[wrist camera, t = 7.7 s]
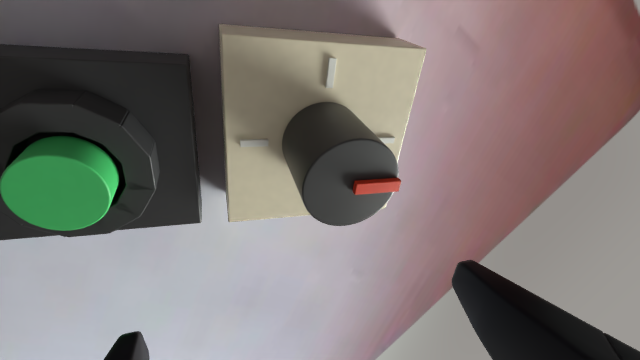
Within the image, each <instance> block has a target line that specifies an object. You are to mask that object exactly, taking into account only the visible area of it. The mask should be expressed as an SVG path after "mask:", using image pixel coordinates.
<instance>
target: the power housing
mask: <svg viewBox="0 0 640 360" xmlns="http://www.w3.org/2000/svg"><path fill="white" fill-rule="evenodd" d="M52 136H69V137H75V138H80V139H83V140H86V141H88V142H91V143H93V144H95V145H96V146H98V147H100V148H101V149H102V150H104V151H105V152H106V153H107V154H108V155H109V156H110V157H111V158H112V160H113V161H114V163H115V165H116V167H117V169H118V172H119V184H118V187H117V189H116V192H115V194H114V197H113V200H112V202H111V205H110V207H109V209H108V211H107V213H106V214H105V215H104V216H103V217H102V218H101V219H100V220H99V221H97V222H96V223H94V224H92V225H90V226H87V227H84V228H81V229H76V230H65V231H62V230H51V229H46V228H42V227H38V226H35V225H33V224H30V223H28V222H26V221H24V220H23V219H21V218H20V217H18V216H17V215H16V214H14V213H13V212H12V211H11V210H10V209H9V208H8V207H7V205H6V204H5V203H4V201H3V199H2V196H1V194H0V240H9V239H20V238H32V237H43V236H55V235H61V236H65V237H66V236H67V237H74V236H86V235H97V234H107V233H111V232H113V231H115V230H124V229H135V228H147V227H158V226H170V225H181V224H193V223H201V212H202V200H201V188H200V177H199V166H198V154H197V143H196V132H195V120H194V109H193V97H192V86H191V75H190V63H189V55H188V54H173V53H155V52H136V51H117V50H98V49H80V48H61V47H42V46H23V45H5V44H0V179H1V176H2V174H3V172H4V171H5V169H6V168H7V167H8V166H9V165H10V164H11V163H12V162H13V161H14V160H15V159H16V158H17V157H18V156H19V155H20V154H21V153H22V152H23V151H24V150H25V149H26V148H27V147H28V146H29V145H30V144H32V143H34V142H35V141H38V140H40V139H43V138H46V137H52Z"/></svg>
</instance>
